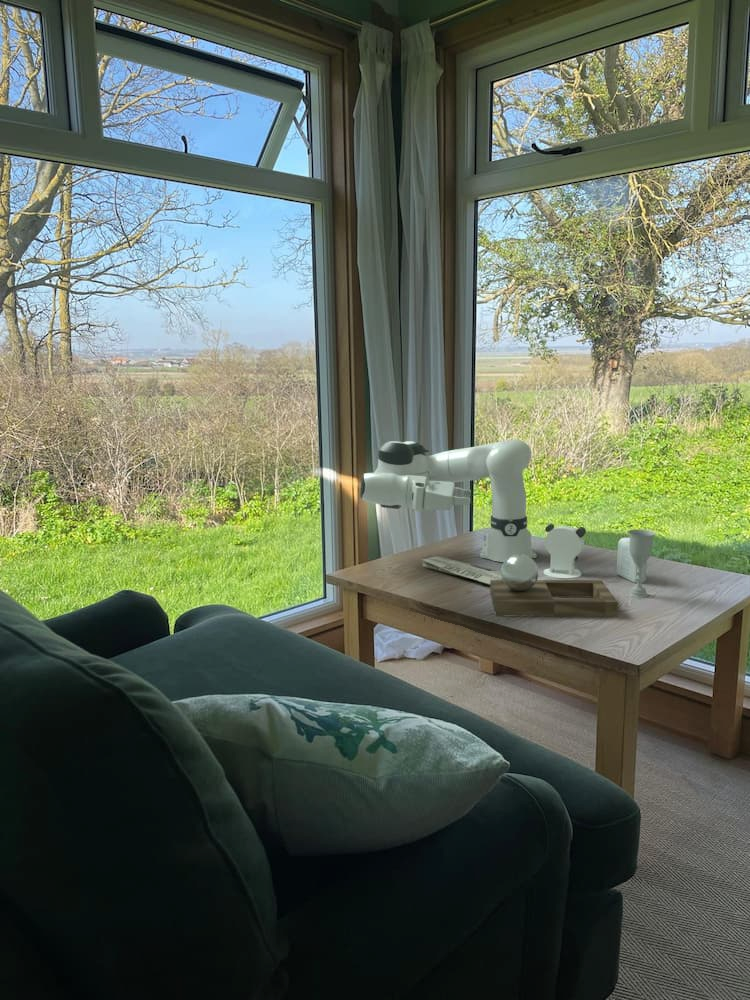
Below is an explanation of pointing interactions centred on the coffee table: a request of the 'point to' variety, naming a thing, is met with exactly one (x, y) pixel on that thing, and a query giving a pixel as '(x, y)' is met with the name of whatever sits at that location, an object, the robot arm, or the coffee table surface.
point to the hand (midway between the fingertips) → (470, 497)
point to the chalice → (640, 556)
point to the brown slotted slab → (554, 599)
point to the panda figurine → (564, 550)
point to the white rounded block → (628, 562)
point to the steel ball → (519, 572)
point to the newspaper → (462, 569)
